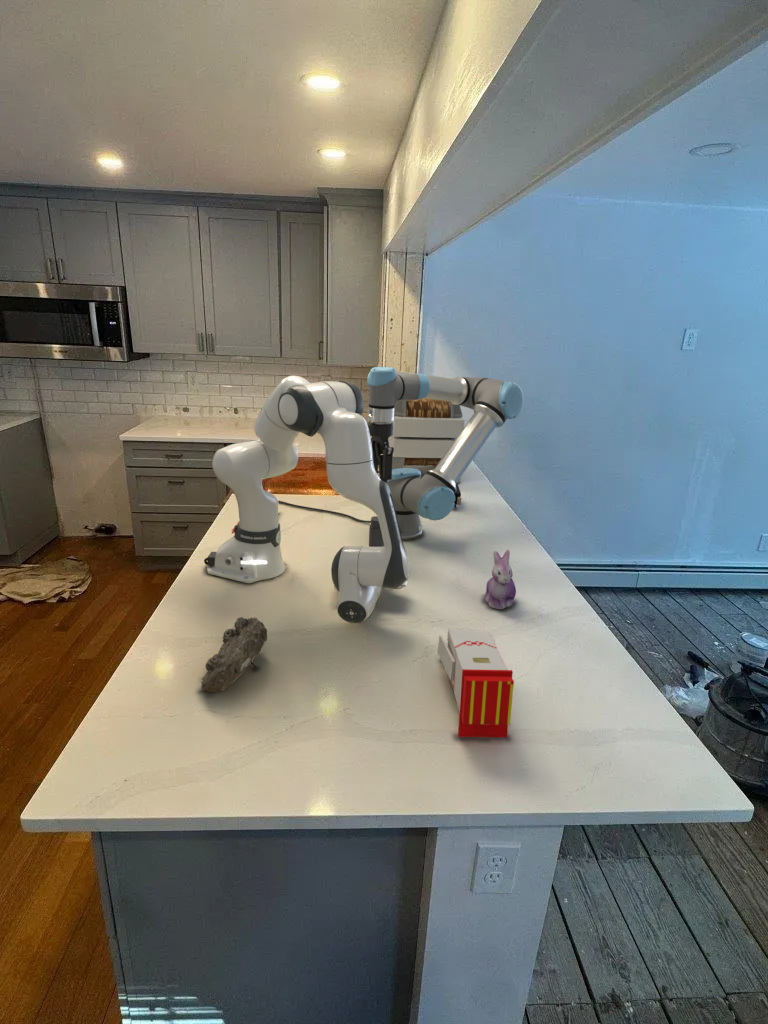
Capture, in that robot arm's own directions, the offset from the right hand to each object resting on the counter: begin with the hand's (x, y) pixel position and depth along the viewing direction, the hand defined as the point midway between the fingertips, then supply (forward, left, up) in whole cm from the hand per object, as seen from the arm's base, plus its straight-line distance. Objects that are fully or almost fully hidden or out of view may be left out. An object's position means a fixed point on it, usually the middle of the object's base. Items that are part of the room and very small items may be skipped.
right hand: (377, 497), depth 173 cm
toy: (+63, -27, -20) cm, 72 cm away
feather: (-49, -6, -20) cm, 54 cm away
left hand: (+13, -11, -14) cm, 22 cm away
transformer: (-63, +81, -20) cm, 105 cm away
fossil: (+27, -61, -20) cm, 69 cm away
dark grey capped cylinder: (+14, -12, -20) cm, 27 cm away
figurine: (+43, +9, -20) cm, 48 cm away
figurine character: (-21, +58, -20) cm, 65 cm away
